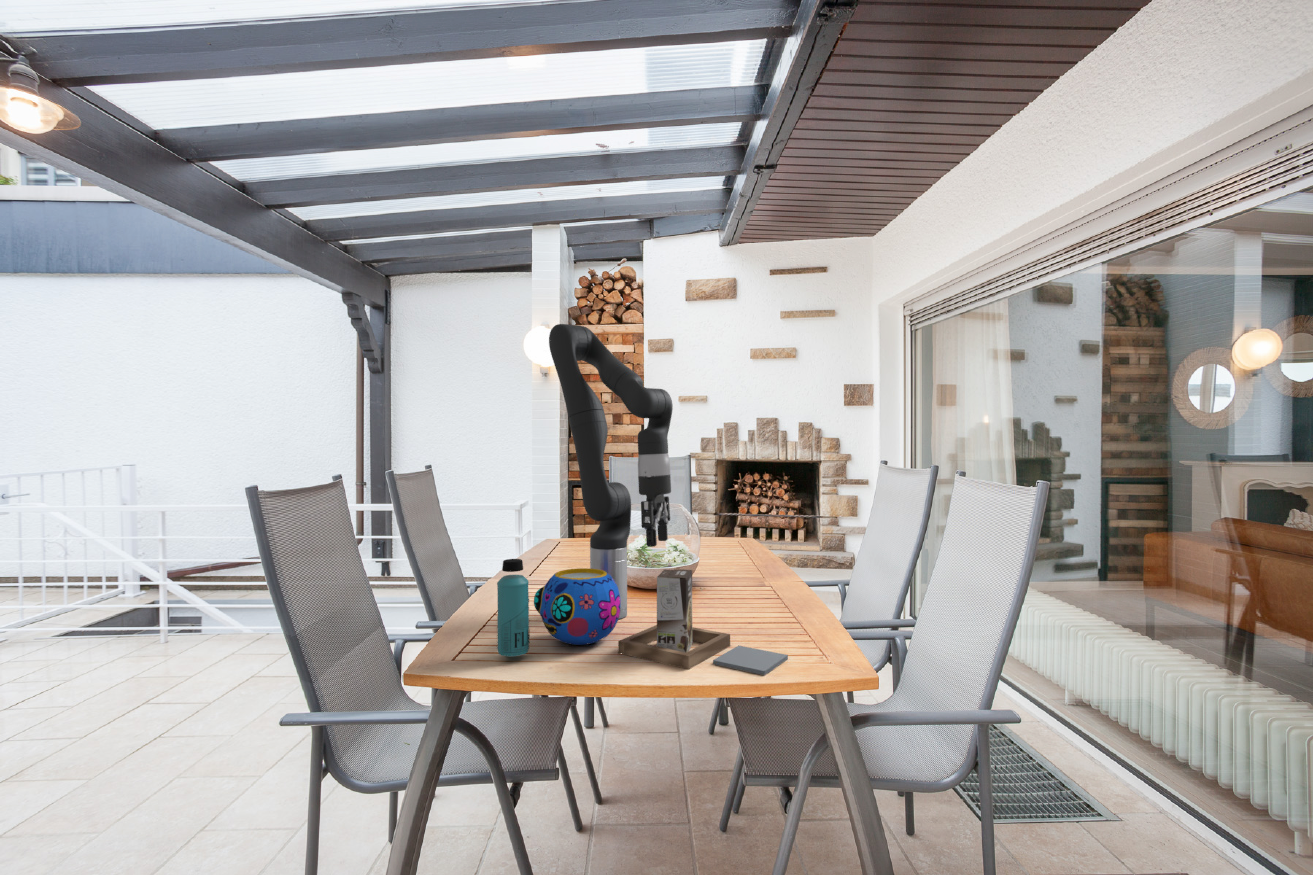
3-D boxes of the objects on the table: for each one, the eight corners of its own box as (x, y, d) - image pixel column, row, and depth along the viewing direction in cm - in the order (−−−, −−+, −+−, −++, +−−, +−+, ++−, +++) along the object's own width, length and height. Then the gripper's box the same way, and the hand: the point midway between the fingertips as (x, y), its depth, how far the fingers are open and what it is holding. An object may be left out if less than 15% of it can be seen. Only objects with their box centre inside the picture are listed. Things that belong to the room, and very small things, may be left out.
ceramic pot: (525, 639, 144) (525, 571, 144) (594, 625, 155) (593, 562, 155) (564, 660, 130) (564, 585, 130) (637, 643, 141) (636, 574, 141)
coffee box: (687, 657, 132) (686, 577, 132) (655, 655, 133) (655, 576, 133) (693, 643, 141) (693, 568, 141) (664, 642, 142) (664, 567, 142)
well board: (618, 653, 135) (618, 640, 135) (663, 632, 149) (663, 621, 149) (688, 669, 125) (688, 656, 125) (730, 645, 139) (730, 634, 139)
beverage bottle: (513, 666, 127) (513, 563, 127) (489, 660, 130) (489, 560, 130) (536, 657, 132) (536, 558, 132) (512, 651, 136) (512, 555, 136)
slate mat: (712, 664, 128) (712, 659, 128) (738, 649, 137) (738, 645, 137) (764, 675, 122) (764, 671, 122) (787, 658, 131) (787, 654, 131)
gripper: (648, 472, 160) (651, 539, 159) (628, 475, 146) (631, 548, 146) (678, 471, 158) (681, 539, 157) (660, 474, 144) (663, 548, 144)
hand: (657, 543), depth 152 cm, fingers open, 8 cm apart
